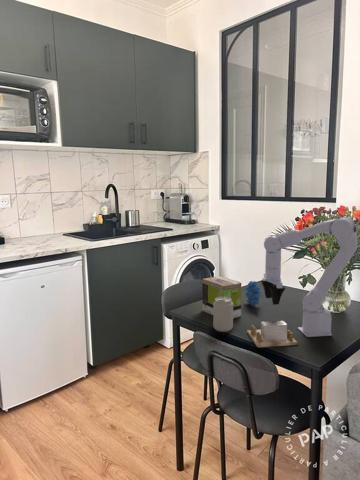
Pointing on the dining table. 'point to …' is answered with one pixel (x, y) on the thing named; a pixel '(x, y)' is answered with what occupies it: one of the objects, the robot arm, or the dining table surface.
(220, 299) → the can
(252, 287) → the grapes
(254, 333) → the tray
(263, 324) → the block
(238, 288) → the tea box
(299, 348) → the dining table surface
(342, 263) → the robot arm
